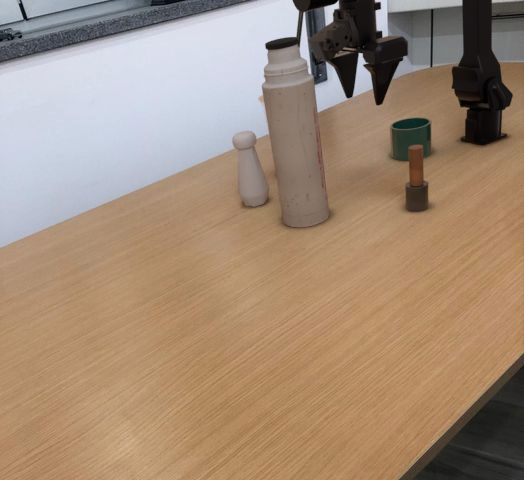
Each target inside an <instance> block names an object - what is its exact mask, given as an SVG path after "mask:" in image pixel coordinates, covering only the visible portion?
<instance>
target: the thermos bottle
mask: <svg viewBox="0 0 524 480" xmlns="http://www.w3.org/2000/svg"><path fill="white" fill-rule="evenodd" d="M264 47H265V50H267V53H266V55H267V56H266V57H267V64H266V65H265V66H264V67H263V78H264V80H265V81H264V82H263V83H262V84H261V91H262V95H263V98H264V104H265V110H266V116H267V123H268V128H267V130H268V129H269V132H268V135H269V140H270V146H271V153H272V159H273V165H274V169H275V174H276V175H275V176H276V181H277V190H278V197H279V204H280V210H281V214H282V221H283V224H285V225H286V226H287V227H292V228H308V227H312V226H316V225H319V224H321V223H323V222H325V221H326V220H327V219H328V218H329V216H330V210H329V200H328V191H327V182H326V174H325V166H324V165H325V164H324V156H323V148H322V138H321V129H320V123H319V122H320V120H319V112H318V104H317V94H316V86H315V77H314V75H313V74H311V73H309V68H310V66H309V65H308V61H307V59H305V58H304V57H302V56H301V47H300V48H299V47H298V38H297V37H296V36H286V37H280V38H276V39H273V40H270V41H267V42H266V43H264Z"/></svg>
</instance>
